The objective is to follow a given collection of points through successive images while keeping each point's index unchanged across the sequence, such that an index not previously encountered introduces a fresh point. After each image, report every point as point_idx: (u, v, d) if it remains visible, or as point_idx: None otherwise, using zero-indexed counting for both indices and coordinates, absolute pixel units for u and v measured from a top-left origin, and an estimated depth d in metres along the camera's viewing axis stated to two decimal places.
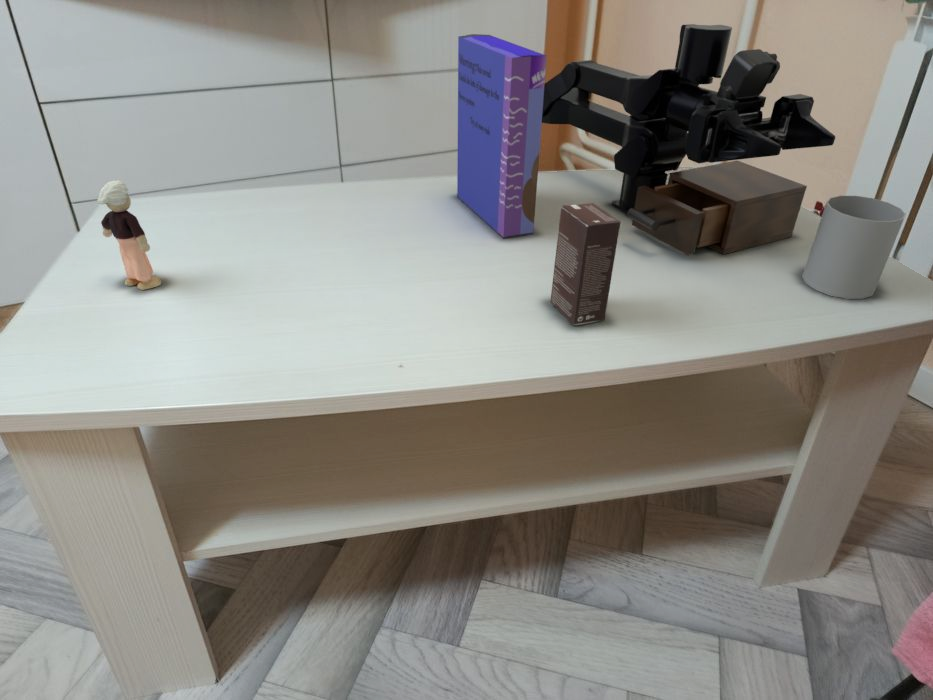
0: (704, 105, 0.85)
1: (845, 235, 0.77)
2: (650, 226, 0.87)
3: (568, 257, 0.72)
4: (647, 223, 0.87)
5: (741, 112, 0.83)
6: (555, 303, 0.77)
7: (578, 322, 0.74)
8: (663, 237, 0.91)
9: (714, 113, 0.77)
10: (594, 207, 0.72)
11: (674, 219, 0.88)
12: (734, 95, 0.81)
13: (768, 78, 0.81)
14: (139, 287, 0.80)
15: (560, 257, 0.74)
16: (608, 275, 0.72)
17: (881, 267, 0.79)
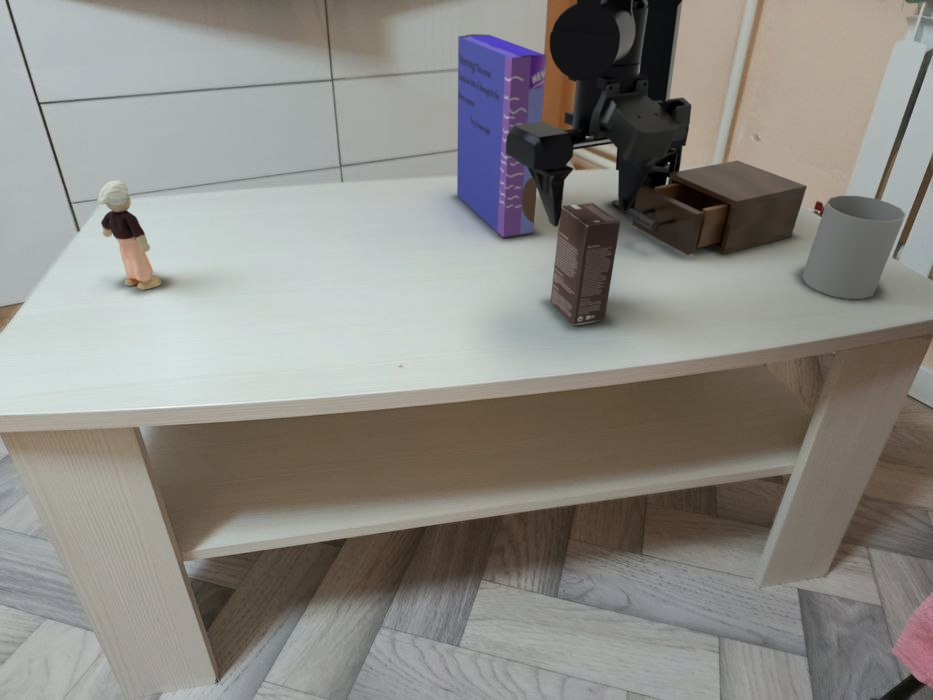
0: (597, 81, 0.61)
1: (845, 235, 0.77)
2: (650, 226, 0.87)
3: (568, 258, 0.72)
4: (647, 223, 0.87)
5: None
6: (555, 303, 0.77)
7: (578, 322, 0.74)
8: (663, 237, 0.91)
9: None
10: (594, 208, 0.72)
11: (674, 219, 0.88)
12: (606, 133, 0.62)
13: None
14: (139, 287, 0.80)
15: (560, 257, 0.74)
16: (608, 275, 0.72)
17: (881, 267, 0.79)
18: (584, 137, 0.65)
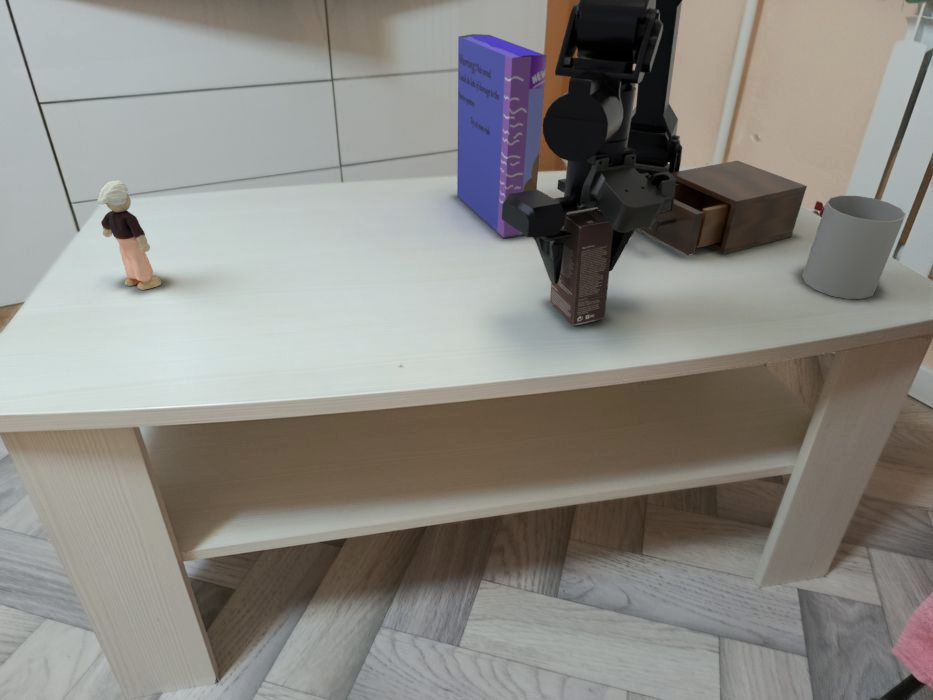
0: None
1: (845, 235, 0.77)
2: None
3: (564, 258, 0.72)
4: None
5: None
6: (555, 303, 0.77)
7: (578, 322, 0.74)
8: (663, 237, 0.91)
9: None
10: None
11: (674, 219, 0.88)
12: (595, 203, 0.65)
13: None
14: (139, 287, 0.80)
15: None
16: (605, 274, 0.72)
17: (881, 267, 0.79)
18: (576, 204, 0.68)
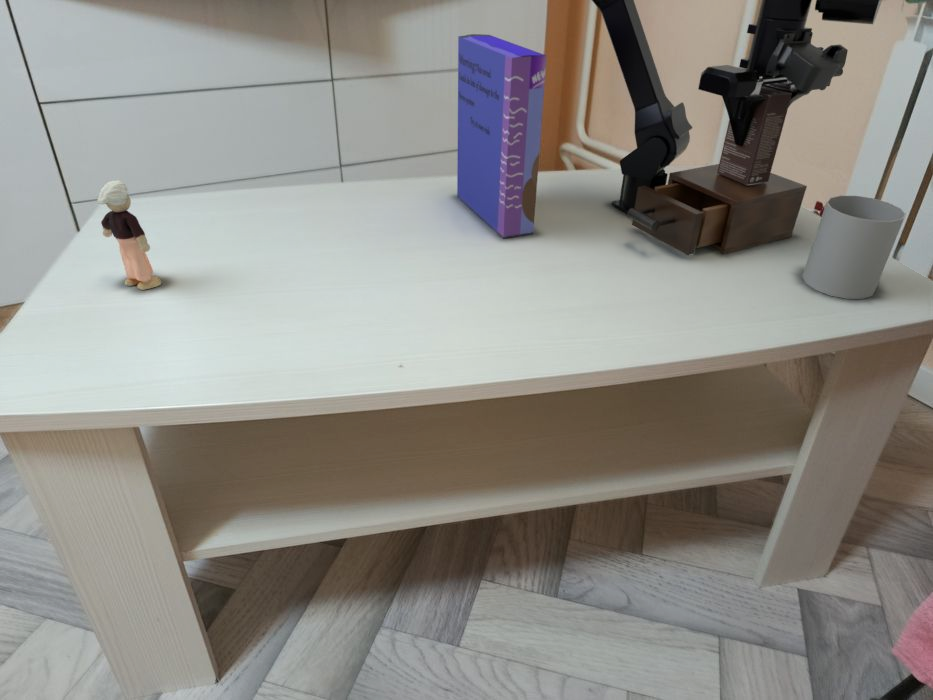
0: (776, 31, 0.81)
1: (845, 235, 0.77)
2: (650, 226, 0.87)
3: None
4: (647, 223, 0.87)
5: None
6: (724, 172, 0.94)
7: (750, 183, 0.91)
8: (663, 237, 0.91)
9: None
10: (763, 87, 0.89)
11: (674, 219, 0.88)
12: (780, 71, 0.82)
13: None
14: (139, 287, 0.80)
15: None
16: (777, 141, 0.89)
17: (881, 267, 0.79)
18: (758, 77, 0.85)
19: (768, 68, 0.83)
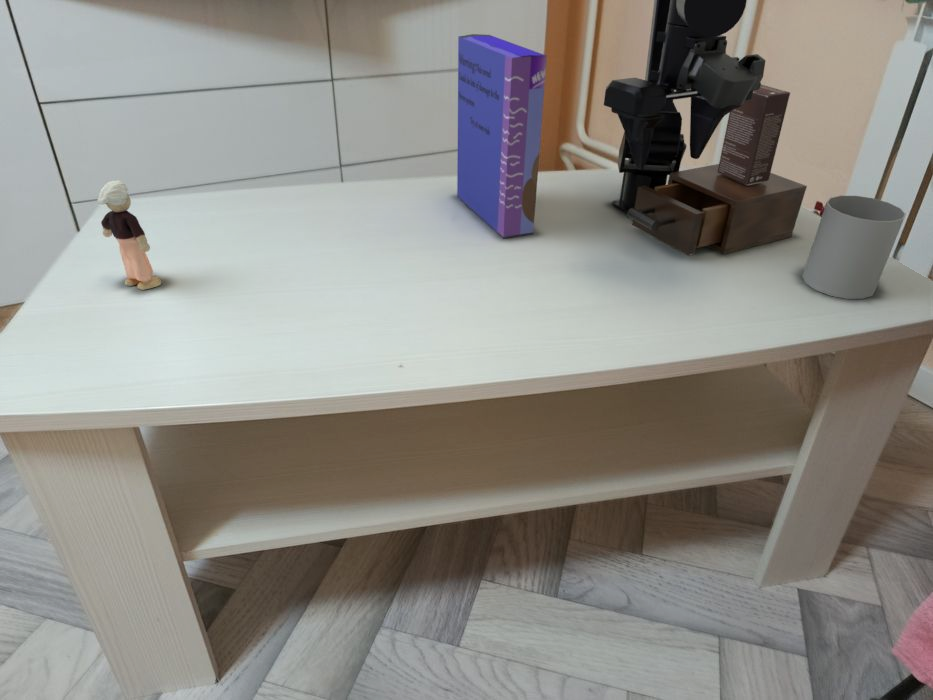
0: (685, 40, 0.72)
1: (845, 235, 0.77)
2: (650, 226, 0.87)
3: (742, 128, 0.89)
4: (647, 223, 0.87)
5: None
6: (724, 171, 0.94)
7: (750, 182, 0.91)
8: (663, 237, 0.91)
9: None
10: (762, 85, 0.89)
11: (674, 219, 0.88)
12: (692, 85, 0.73)
13: None
14: (139, 287, 0.80)
15: (732, 130, 0.91)
16: (776, 140, 0.89)
17: (881, 267, 0.79)
18: (670, 90, 0.76)
19: (679, 81, 0.74)
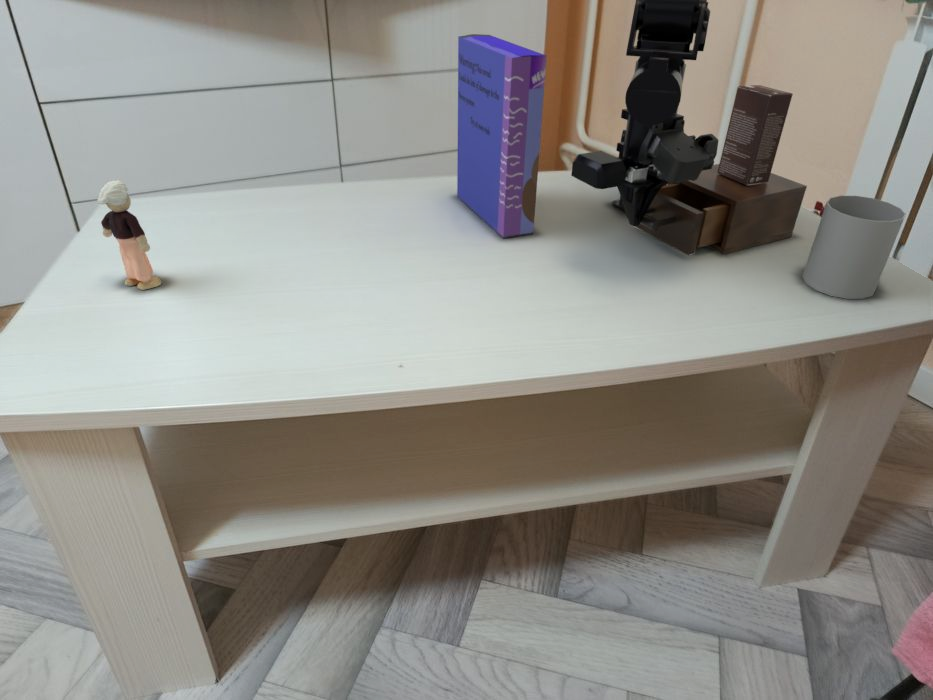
0: None
1: (845, 235, 0.77)
2: (650, 226, 0.87)
3: (744, 128, 0.89)
4: (647, 223, 0.87)
5: None
6: (724, 172, 0.94)
7: (750, 183, 0.91)
8: (663, 237, 0.91)
9: None
10: (764, 87, 0.89)
11: (674, 219, 0.88)
12: (651, 161, 0.80)
13: None
14: (139, 287, 0.80)
15: (734, 130, 0.91)
16: (777, 141, 0.89)
17: (881, 267, 0.79)
18: (633, 163, 0.83)
19: (640, 156, 0.80)
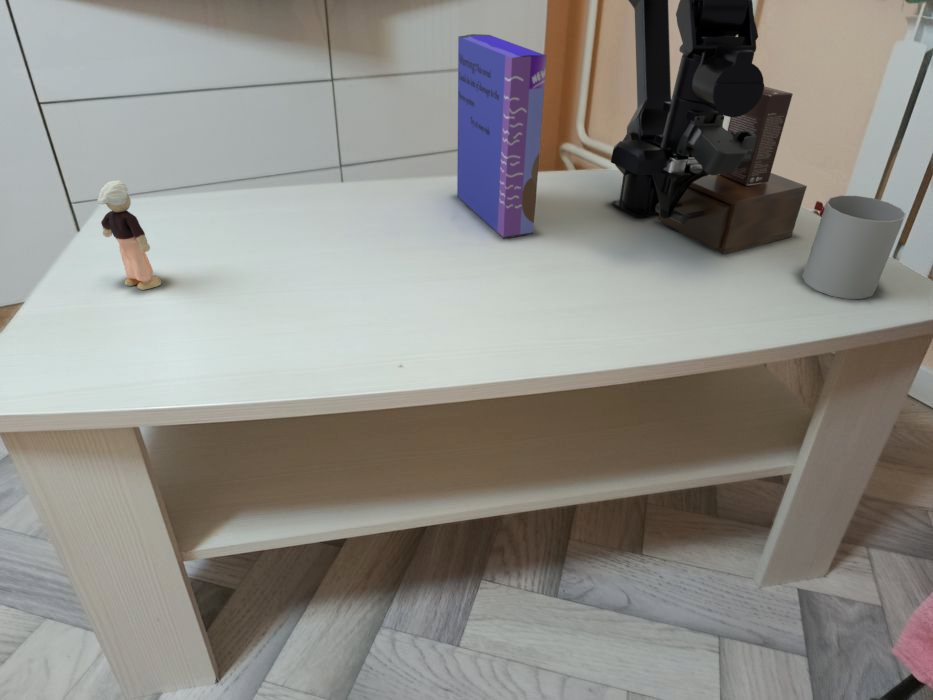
0: (687, 112, 0.81)
1: (845, 235, 0.77)
2: (679, 220, 0.89)
3: (744, 128, 0.89)
4: (676, 217, 0.89)
5: None
6: None
7: (750, 183, 0.91)
8: (690, 231, 0.93)
9: None
10: (764, 87, 0.89)
11: (702, 213, 0.90)
12: (690, 152, 0.82)
13: None
14: (139, 287, 0.80)
15: (734, 130, 0.91)
16: (777, 141, 0.89)
17: (881, 267, 0.79)
18: (671, 154, 0.85)
19: (679, 147, 0.83)
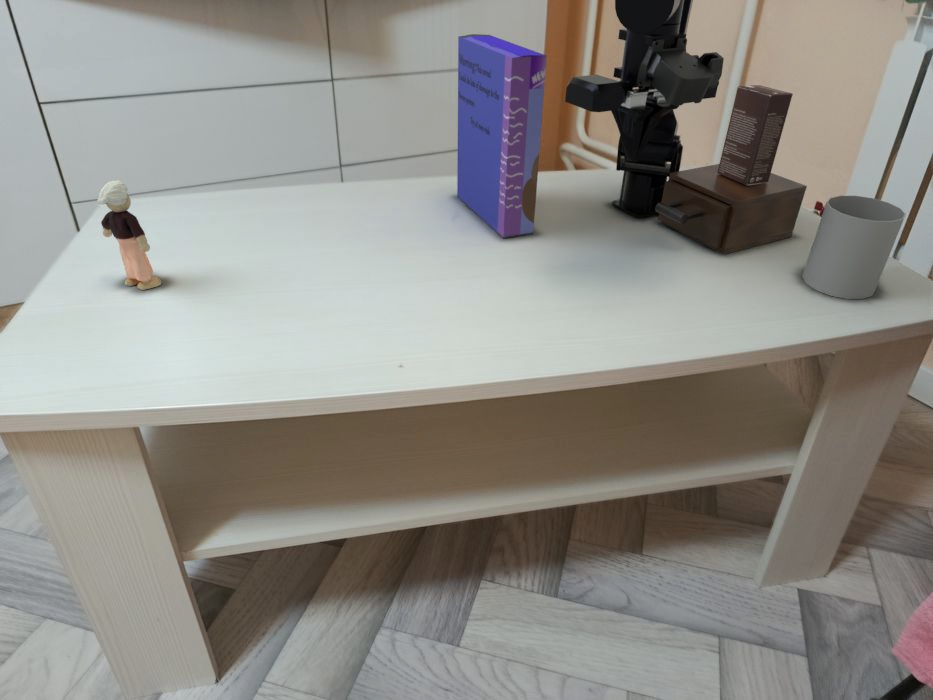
0: (644, 38, 0.73)
1: (845, 235, 0.77)
2: (679, 220, 0.89)
3: (744, 128, 0.89)
4: (676, 217, 0.89)
5: None
6: (724, 172, 0.94)
7: (750, 183, 0.91)
8: (690, 231, 0.93)
9: None
10: (764, 87, 0.89)
11: (702, 213, 0.90)
12: (651, 82, 0.74)
13: None
14: (139, 287, 0.80)
15: (734, 130, 0.91)
16: (777, 141, 0.89)
17: (881, 267, 0.79)
18: (631, 87, 0.77)
19: (639, 78, 0.74)
